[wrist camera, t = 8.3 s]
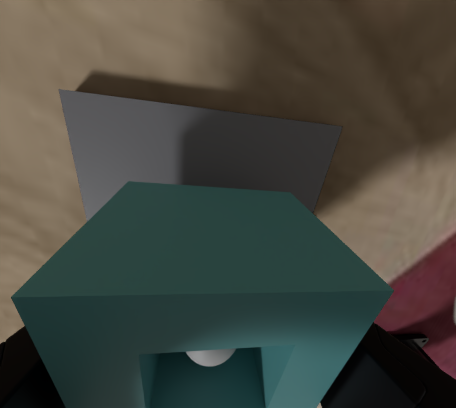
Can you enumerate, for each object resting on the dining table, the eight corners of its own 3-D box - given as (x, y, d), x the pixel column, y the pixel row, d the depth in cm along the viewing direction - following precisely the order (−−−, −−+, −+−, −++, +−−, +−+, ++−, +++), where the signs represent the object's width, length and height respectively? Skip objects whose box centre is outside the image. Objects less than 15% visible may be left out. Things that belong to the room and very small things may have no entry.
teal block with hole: (290, 192, 8) (394, 290, 4) (261, 298, 11) (302, 428, 6) (128, 181, 7) (10, 296, 3) (140, 300, 10) (90, 457, 5)
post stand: (330, 124, 10) (566, 154, 4) (278, 289, 15) (336, 427, 9) (73, 91, 8) (-423, 24, 2) (111, 292, 13) (23, 472, 7)
